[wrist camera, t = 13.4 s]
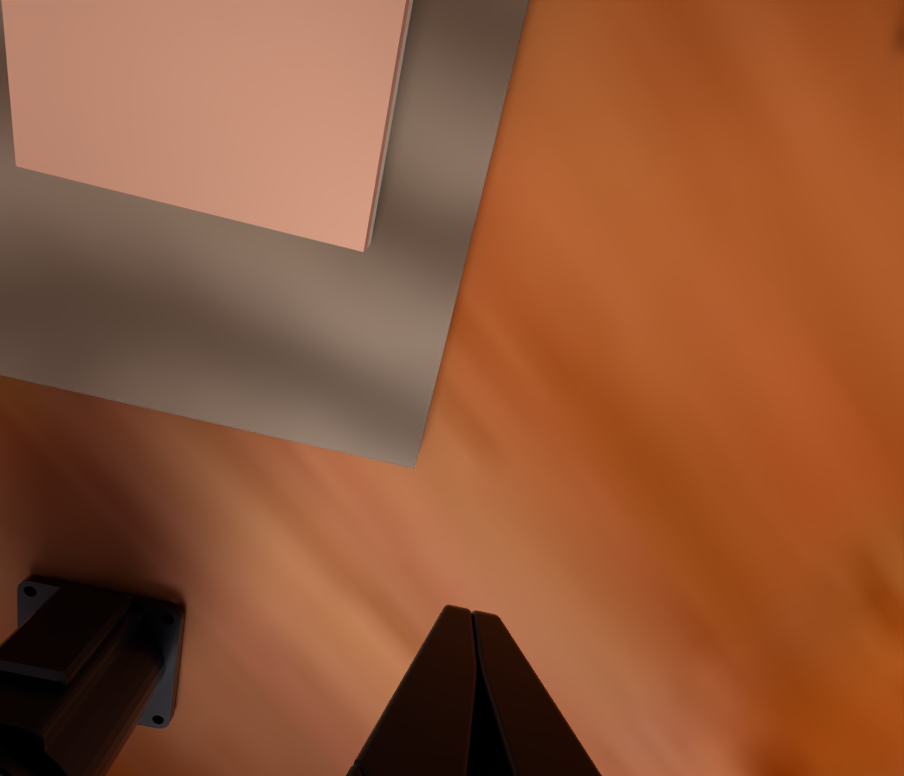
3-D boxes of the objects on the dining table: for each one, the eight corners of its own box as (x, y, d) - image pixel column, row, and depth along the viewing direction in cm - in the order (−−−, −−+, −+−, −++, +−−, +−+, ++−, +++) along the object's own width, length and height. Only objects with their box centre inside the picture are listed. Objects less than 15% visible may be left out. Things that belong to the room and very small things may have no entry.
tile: (411, -33, 14) (416, -21, 15) (-12, -152, 13) (26, -130, 14) (363, 252, 16) (370, 244, 18) (15, 166, 16) (45, 163, 17)
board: (416, 456, 21) (414, 468, 20) (-21, 357, 20) (-45, 365, 19) (558, -124, 15) (564, -145, 14) (-38, -298, 14) (-74, -333, 14)
